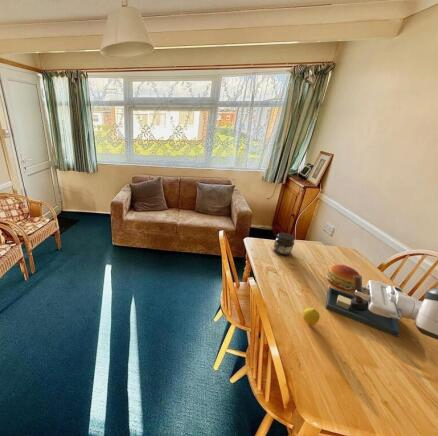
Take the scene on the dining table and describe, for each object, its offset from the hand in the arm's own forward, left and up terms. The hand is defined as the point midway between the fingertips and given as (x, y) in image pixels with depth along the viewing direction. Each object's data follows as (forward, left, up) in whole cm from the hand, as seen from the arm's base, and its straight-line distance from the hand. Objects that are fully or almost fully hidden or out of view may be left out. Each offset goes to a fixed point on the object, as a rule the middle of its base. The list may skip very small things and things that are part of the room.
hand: (354, 289), depth 101 cm
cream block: (+1, -1, -10) cm, 11 cm away
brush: (-4, +1, -8) cm, 9 cm away
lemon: (+16, +19, -11) cm, 27 cm away
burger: (0, -19, -11) cm, 22 cm away
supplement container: (+28, -37, -11) cm, 48 cm away
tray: (-4, +1, -11) cm, 12 cm away
